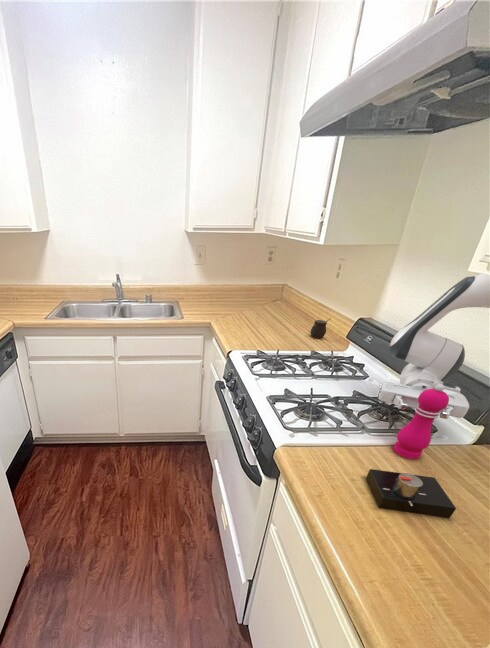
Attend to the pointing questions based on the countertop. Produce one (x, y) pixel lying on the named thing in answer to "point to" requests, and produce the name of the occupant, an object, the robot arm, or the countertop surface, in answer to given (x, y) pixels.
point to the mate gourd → (319, 329)
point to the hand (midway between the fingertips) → (423, 411)
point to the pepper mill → (421, 423)
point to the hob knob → (407, 485)
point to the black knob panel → (425, 502)
